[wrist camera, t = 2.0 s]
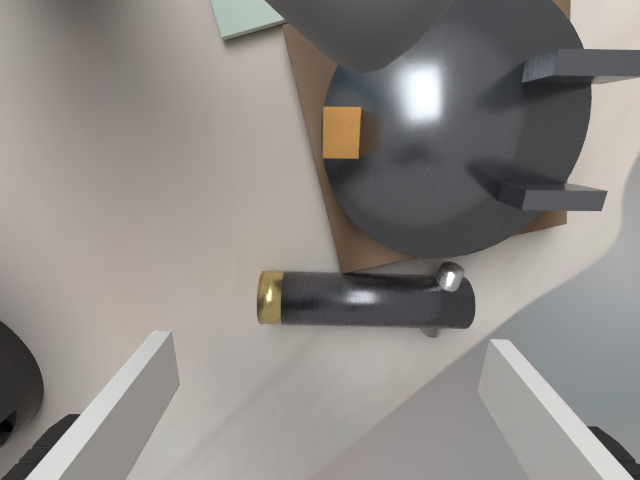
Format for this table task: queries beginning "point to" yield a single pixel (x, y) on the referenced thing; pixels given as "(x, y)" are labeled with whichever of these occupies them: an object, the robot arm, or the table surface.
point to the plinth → (348, 237)
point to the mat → (244, 16)
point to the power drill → (362, 27)
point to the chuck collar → (467, 128)
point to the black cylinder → (368, 299)
